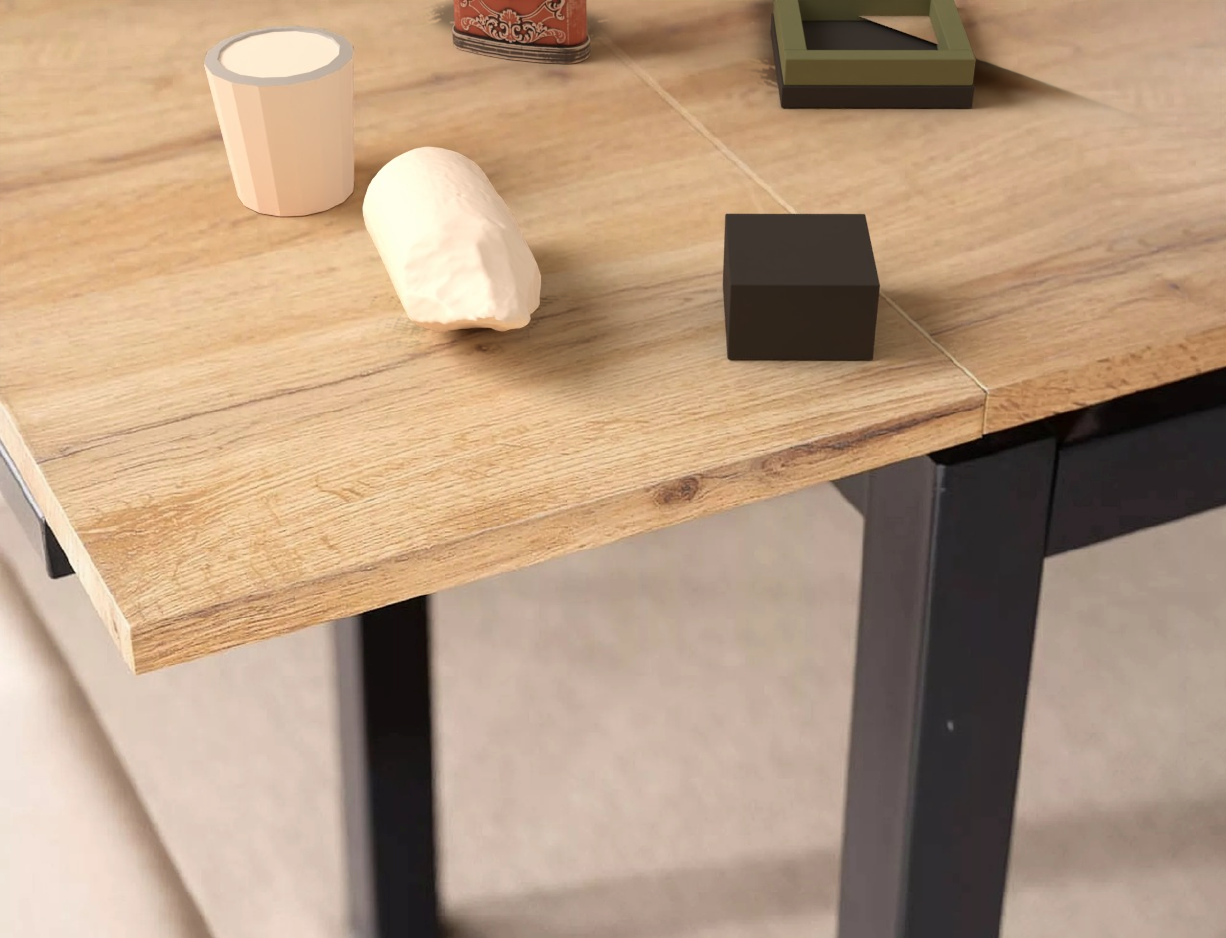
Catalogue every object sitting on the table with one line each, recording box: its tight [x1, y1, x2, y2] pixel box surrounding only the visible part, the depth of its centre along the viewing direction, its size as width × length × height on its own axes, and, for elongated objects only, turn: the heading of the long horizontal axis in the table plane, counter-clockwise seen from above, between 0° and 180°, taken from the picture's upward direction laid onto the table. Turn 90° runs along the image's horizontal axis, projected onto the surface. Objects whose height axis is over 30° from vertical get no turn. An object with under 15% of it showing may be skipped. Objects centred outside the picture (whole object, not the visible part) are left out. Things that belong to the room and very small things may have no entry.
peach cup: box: [203, 25, 355, 217], centre depth 82 cm, size 7×7×7 cm
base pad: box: [769, 0, 977, 109], centre depth 95 cm, size 10×10×3 cm
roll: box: [361, 146, 542, 333], centre depth 73 cm, size 6×12×6 cm, turn 18°
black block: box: [722, 213, 881, 361], centre depth 73 cm, size 6×6×4 cm
